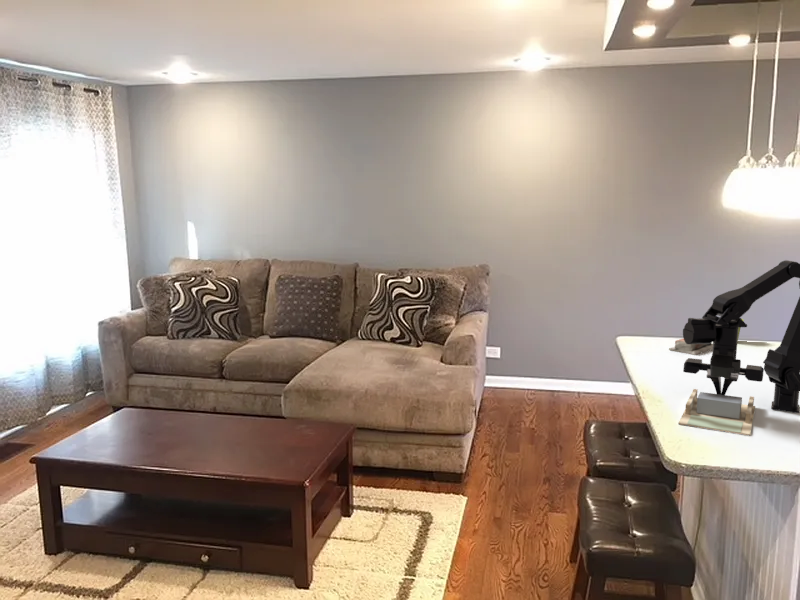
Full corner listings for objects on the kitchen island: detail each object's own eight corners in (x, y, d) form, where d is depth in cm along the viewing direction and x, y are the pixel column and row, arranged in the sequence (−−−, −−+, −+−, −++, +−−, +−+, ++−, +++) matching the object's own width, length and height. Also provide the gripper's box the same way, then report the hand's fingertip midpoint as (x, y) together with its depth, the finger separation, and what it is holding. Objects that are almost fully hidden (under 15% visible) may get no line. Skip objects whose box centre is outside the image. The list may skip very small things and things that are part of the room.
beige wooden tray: (691, 398, 191) (691, 388, 191) (755, 407, 184) (756, 397, 183) (678, 424, 171) (679, 413, 170) (749, 435, 163) (750, 424, 163)
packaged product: (696, 343, 239) (669, 338, 246) (695, 356, 240) (668, 351, 247) (719, 335, 251) (693, 331, 258) (718, 348, 251) (692, 344, 259)
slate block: (699, 406, 183) (700, 391, 182) (740, 412, 178) (742, 397, 177) (696, 412, 178) (697, 397, 177) (739, 419, 173) (740, 403, 172)
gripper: (682, 345, 176) (678, 403, 179) (763, 354, 167) (758, 415, 170) (688, 337, 186) (684, 392, 188) (765, 345, 177) (760, 403, 179)
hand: (720, 400), depth 181 cm, fingers closed, pressing on slate block
